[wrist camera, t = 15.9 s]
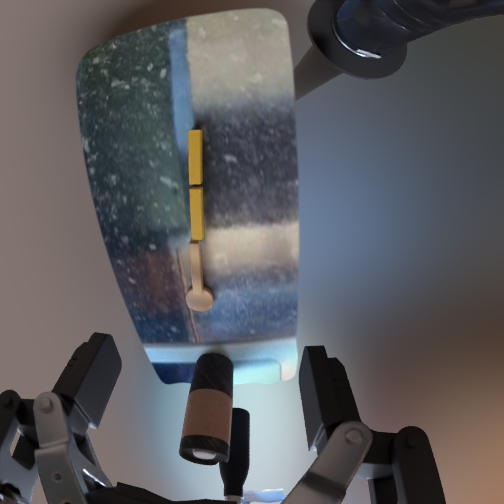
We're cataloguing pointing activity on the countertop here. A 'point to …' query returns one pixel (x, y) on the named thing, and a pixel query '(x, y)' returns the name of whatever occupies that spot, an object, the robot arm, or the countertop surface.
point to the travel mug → (208, 412)
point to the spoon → (198, 281)
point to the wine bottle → (236, 456)
